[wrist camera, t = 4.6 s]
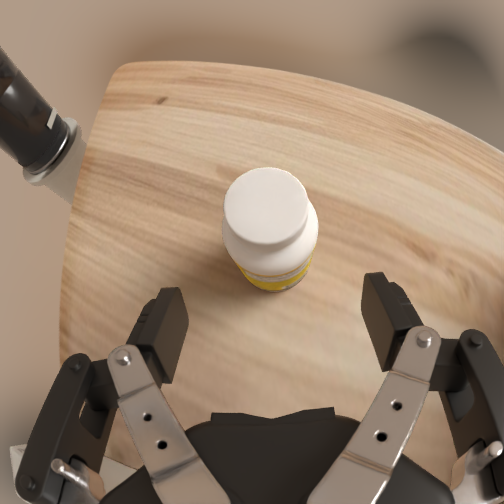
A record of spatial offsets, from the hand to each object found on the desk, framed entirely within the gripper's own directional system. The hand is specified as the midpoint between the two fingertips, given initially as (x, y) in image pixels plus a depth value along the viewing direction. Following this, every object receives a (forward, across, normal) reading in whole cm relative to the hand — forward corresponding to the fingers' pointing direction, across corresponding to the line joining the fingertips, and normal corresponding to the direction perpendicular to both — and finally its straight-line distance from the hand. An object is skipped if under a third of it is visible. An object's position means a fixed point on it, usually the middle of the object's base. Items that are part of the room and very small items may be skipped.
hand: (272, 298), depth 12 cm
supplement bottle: (+10, 0, +4) cm, 11 cm away
